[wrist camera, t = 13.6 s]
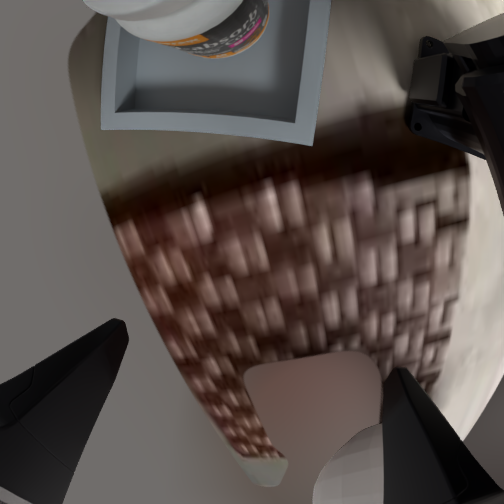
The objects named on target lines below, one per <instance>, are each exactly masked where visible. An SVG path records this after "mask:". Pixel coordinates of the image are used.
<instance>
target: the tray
mask: <svg viewBox="0 0 504 504" xmlns="http://www.w3.org/2000/svg"><path fill="white" fill-rule="evenodd" d="M267 1H268V5H269V20H268V24H267V26H266V29H265V31H264V33H263V34H262V36H261V37H260V38H259V40H258V41H257V42H256V43H255V44H253V45H252V46H251V47H250V48H248V49H246V50H245V51H243V52H241V53H239V54H237V55H234V56H231V57H226V58H219V59H211V58H203V57H199V56H195V55H192V54H189V53H186V52H184V51H181V50H178V49H175V48H171V47H169V46H166V45H162V44H159V43H155V42H152V41H148V40H145V39H142V38H139V37H136V36H134V35H132V34H131V33H129V32H128V31H126V30H125V29H124V28H123V27H121V26H120V25H119V23H118V22H117V21H116V20H115V18H112V17H109V16H108V21H107V28H106V37H105V46H104V57H103V70H102V90H101V130H170V131H189V132H204V133H217V134H227V135H237V136H246V137H255V138H263V139H270V140H278V141H284V142H291V143H297V144H303V145H309V146H312V145H313V139H314V132H315V126H316V119H317V112H318V105H319V98H320V91H321V84H322V76H323V69H324V61H325V52H326V44H327V35H328V26H329V17H330V7H331V0H267Z"/></svg>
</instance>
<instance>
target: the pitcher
mask: <svg viewBox="0 0 504 504" xmlns="http://www.w3.org/2000/svg"><path fill="white" fill-rule="evenodd" d="M383 491H384V466H383V435H382V423H381V424H377V425H374V426H371V427H368V428H366V429H364V430H362V431H360V432H359V433H357V434H356V435H355V436H354V437H353V438H351V440H350V441H348V442H347V443H346V444H345V445H344V446H343V447H342V448H341V449H340V450H339V451H338V452H337V453H336V454H335V455H334V456H333V457H332V458H331V459H330V461H329V462H328V463H327V464H326V465H325V467H323V469H322V470H321V472H320V474H319V477H318V479H317V481H316V483H315V486H314V492H313V500H312V504H383Z"/></svg>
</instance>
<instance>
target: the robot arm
mask: <svg viewBox="0 0 504 504" xmlns="http://www.w3.org/2000/svg"><path fill="white" fill-rule="evenodd" d="M426 41H428V42H429V43H430V44H431V47H430V48H429V47H428V46H427V45H426ZM409 98H410V100H411V102H412V107H411V113H410V118H409V124H408V127H409V130H410V131H411V132H412V133H414V134H416V135H419V136H422V137H425V138H428V139H431V140H434V141H437V142H440V143H443V144H446V145H449V146H451V147H454V148H457V149H459V150H462V151H464V152H467V153H470V154H472V155H475V156H477V157H479V158H482V159H484V160H486V161H487V163H488V166H489V169H490V172H491V175H492V178H493V181H494V184H495V187H496V190H497V194H498V197H499V200H500V204H501V208H502V211H503V215H504V13H503V14H500V15H497V16H495V17H493V18H491V19H488V20H486V21H484V22H482V23H480V24H478V25H476V26H474V27H471V28H469V29H467V30H465V31H463V32H461V33H459V34H457V35H455V36H453V37H451V38H449V39H448V40H446V41H444V42H442V41H439V40H437V39H434V38H432V37H429V36H426V37H423V38H422V39H421V40H420V46H419V56H418V59H417V60H415V61H414V66H413V74H412V82H411V89H410V95H409ZM416 123H418V124H419V129H418V130H415V128H414V125H415V124H416ZM128 342H129V336H128V333H127V328H126V324H125V322H124V321H123V320H119V319H116V318H113V319H111V320H109V321H107V322H106V323H104V324H102V325H101V326H99V327H97V328H96V329H94V330H92V331H91V332H89V333H87V334H86V335H84V336H82V337H80V338H79V339H77V340H76V341H74V342H72V343H70V344H69V345H67V346H66V347H64V348H62V349H61V350H59V351H57V352H56V353H54V354H52V355H51V356H49V357H47V358H46V359H44V360H42V361H41V362H39V363H38V364H36V365H35V366H33V367H31V368H29V369H28V370H26V371H24V372H23V373H21V374H19V375H17V376H16V377H14V378H12V379H10V380H8V381H6V382H4V383H2V384H0V504H62V503H63V501H64V498H65V495H66V493H67V490H68V487H69V485H70V482H71V479H72V477H73V475H74V472H75V469H76V467H77V464H78V462H79V459H80V457H81V455H82V452H83V450H84V447H85V445H86V443H87V440H88V438H89V436H90V434H91V431H92V429H93V427H94V425H95V422H96V420H97V418H98V416H99V413H100V411H101V409H102V407H103V405H104V403H105V400H106V398H107V396H108V394H109V392H110V390H111V388H112V386H113V383H114V381H115V379H116V376H117V373H118V370H119V368H120V364H121V362H122V359H123V356H124V354H125V351H126V348H127V345H128ZM382 435H383V466H384V491H383V504H504V490H503V489H502V488H500V487H499V486H498V485H497V484H496V483H495V481H494V480H493V479H492V478H491V477H490V475H489V474H488V473H487V472H486V471H485V470H484V469H483V467H482V466H481V465H480V464H479V463H478V461H477V460H476V459H475V458H474V457H473V455H472V454H471V453H470V451H469V450H468V448H467V447H466V446H465V445H464V443H463V442H462V440H460V437H459V436H458V435H457V433H456V432H455V431H454V429H453V428H452V426H451V425H450V424H449V422H448V421H447V420H446V418H445V417H444V416H443V414H442V413H441V412H440V410H439V409H438V408H437V406H436V405H435V404H434V402H433V401H432V400H431V398H430V397H429V396H428V394H427V393H426V392H425V391H424V389H423V388H422V387H421V385H420V384H419V383H418V382H417V380H416V379H415V378H414V376H413V375H412V374H411V373H410V371H409V370H408V369H407V368H405V367H395V368H394V369H393V370H392V372H391V373H390V375H389V376H388V378H387V379H386V381H385V383H384V390H383V417H382Z"/></svg>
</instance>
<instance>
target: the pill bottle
mask: <svg viewBox="0 0 504 504" xmlns="http://www.w3.org/2000/svg"><path fill="white" fill-rule="evenodd" d="M83 2H84V3H85V4H86V5H87V6H88V7H89V8H91V9H92V10H94V11H96V12H98V13H100V14H103V15H106V16H109V17H112V18H115V20H116V21H117V22H118V23H119V25H120V26H121V27H123V28H124V29H125V30H126V31H128V32H129V33H131V34H132V35H134V36H136V37H139V38H142V39H145V40H148V41H152V42H155V43H159V44H162V45H166V46H169V47H171V48H175V49H178V50H181V51H184V52H186V53H189V54H192V55H195V56H199V57H203V58H211V59H219V58H226V57H231V56H234V55H237V54H239V53H241V52H243V51H245V50H246V49H248V48H250V47H251V46H252V45H253V44H255V43H256V42H257V41H258V40H259V38H260V37H261V36H262V34H263V33H264V31H265V29H266V26H267V24H268V20H269V5H268V1H267V0H83Z"/></svg>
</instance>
